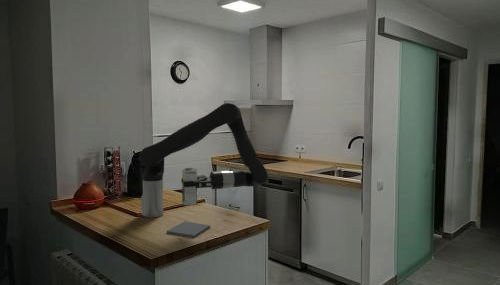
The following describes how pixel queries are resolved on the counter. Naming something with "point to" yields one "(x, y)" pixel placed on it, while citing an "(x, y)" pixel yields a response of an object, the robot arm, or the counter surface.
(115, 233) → the counter surface
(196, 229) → the trivet mat
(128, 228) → the counter surface
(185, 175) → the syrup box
